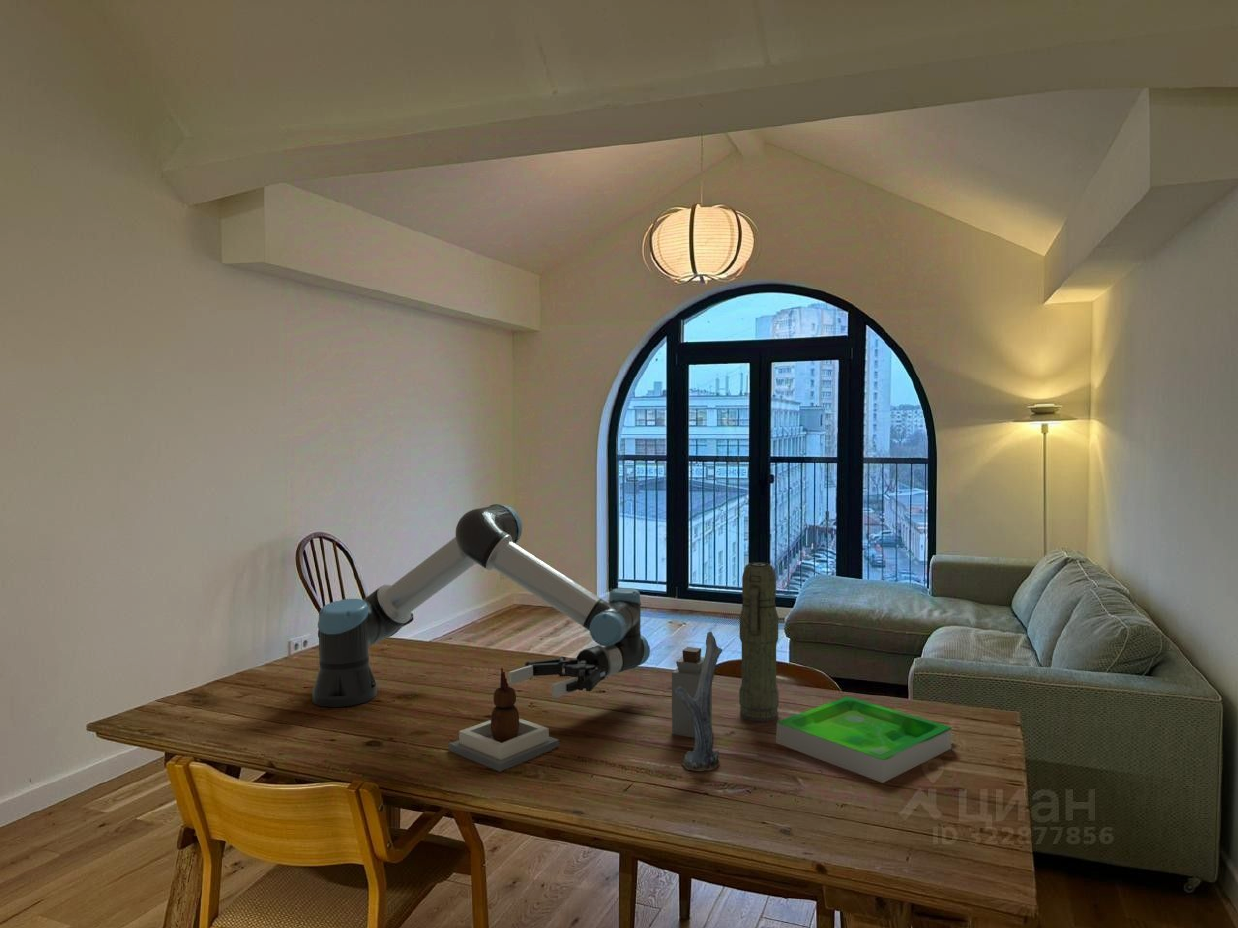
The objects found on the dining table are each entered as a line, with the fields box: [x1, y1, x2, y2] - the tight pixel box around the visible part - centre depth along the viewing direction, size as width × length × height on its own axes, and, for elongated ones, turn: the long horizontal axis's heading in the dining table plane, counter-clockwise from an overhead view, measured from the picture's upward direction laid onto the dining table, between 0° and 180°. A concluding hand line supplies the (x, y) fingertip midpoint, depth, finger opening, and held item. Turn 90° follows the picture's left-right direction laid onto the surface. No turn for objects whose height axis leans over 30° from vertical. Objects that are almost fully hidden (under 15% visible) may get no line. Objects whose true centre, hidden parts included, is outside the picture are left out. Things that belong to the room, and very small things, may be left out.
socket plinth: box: [448, 717, 560, 773], centre depth 165 cm, size 16×16×4 cm
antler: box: [675, 631, 723, 772], centre depth 157 cm, size 12×8×25 cm
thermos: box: [738, 561, 780, 722], centre depth 183 cm, size 9×12×35 cm
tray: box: [776, 695, 952, 784], centre depth 165 cm, size 25×25×5 cm
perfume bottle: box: [671, 646, 713, 739], centre depth 174 cm, size 7×7×18 cm
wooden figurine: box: [490, 667, 520, 743], centre depth 164 cm, size 7×6×15 cm
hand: (530, 684), depth 170 cm, fingers open, 13 cm apart
